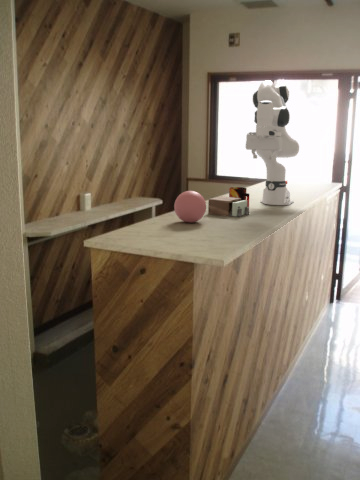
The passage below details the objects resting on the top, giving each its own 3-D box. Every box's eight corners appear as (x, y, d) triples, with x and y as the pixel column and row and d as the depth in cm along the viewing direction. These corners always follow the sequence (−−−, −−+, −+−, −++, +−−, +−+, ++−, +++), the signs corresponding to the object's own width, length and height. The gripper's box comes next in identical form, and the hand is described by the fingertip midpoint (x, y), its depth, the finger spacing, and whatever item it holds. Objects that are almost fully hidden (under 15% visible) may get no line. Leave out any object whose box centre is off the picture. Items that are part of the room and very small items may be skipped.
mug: (248, 211, 271) (249, 190, 268) (225, 209, 278) (226, 188, 275) (255, 209, 279) (256, 188, 276) (233, 207, 286) (234, 186, 283)
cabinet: (221, 210, 274) (222, 196, 272) (250, 213, 264) (251, 199, 262) (208, 213, 263) (208, 199, 261) (237, 217, 252) (238, 202, 251)
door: (242, 213, 265) (243, 200, 263) (248, 213, 263) (248, 200, 261) (231, 216, 255) (232, 202, 253) (237, 216, 253) (237, 203, 252)
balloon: (215, 220, 245) (216, 189, 241) (196, 226, 228) (196, 193, 225) (188, 217, 252) (189, 187, 249) (168, 223, 236) (168, 191, 232)
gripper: (244, 132, 263) (243, 158, 266) (279, 132, 251) (277, 159, 254) (249, 132, 268) (248, 157, 271) (284, 132, 256) (283, 159, 259)
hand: (263, 158), depth 262 cm, fingers open, 8 cm apart
